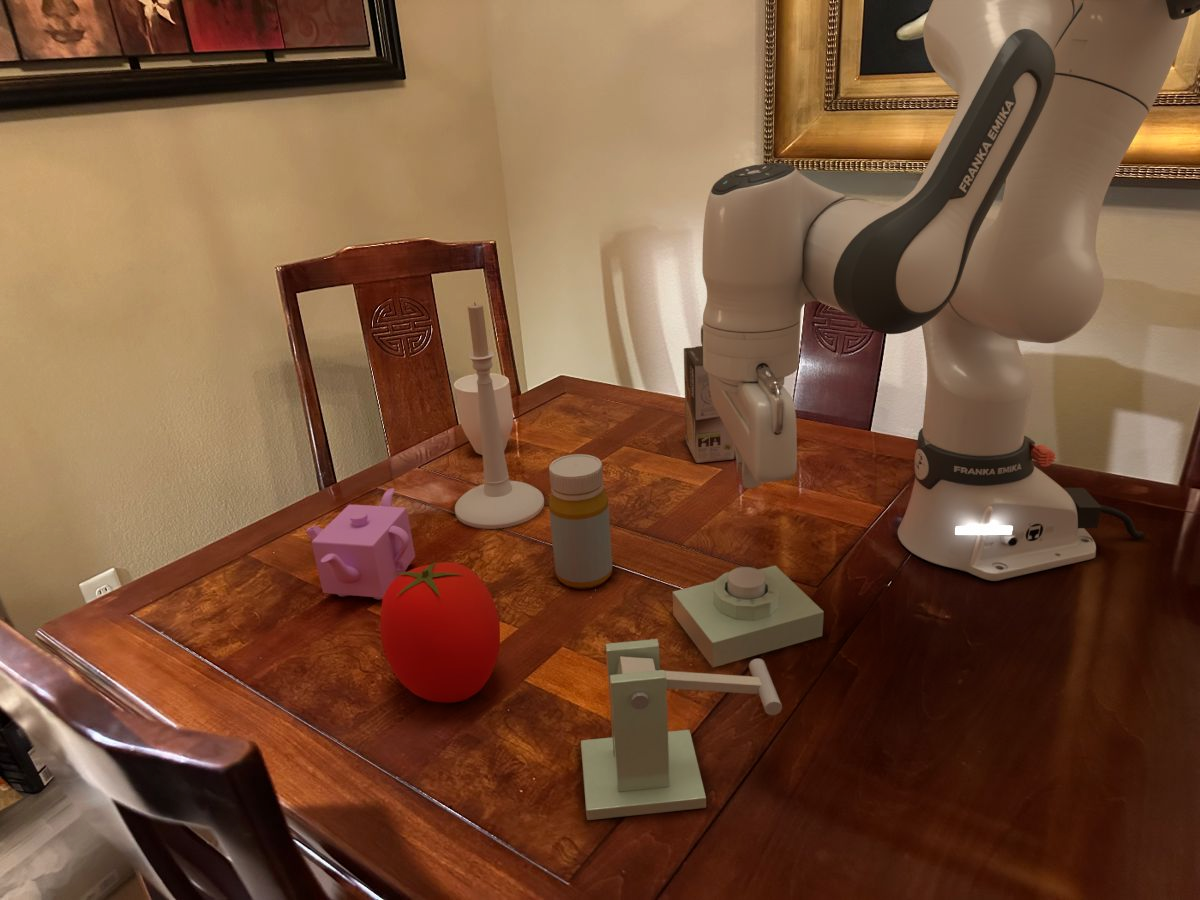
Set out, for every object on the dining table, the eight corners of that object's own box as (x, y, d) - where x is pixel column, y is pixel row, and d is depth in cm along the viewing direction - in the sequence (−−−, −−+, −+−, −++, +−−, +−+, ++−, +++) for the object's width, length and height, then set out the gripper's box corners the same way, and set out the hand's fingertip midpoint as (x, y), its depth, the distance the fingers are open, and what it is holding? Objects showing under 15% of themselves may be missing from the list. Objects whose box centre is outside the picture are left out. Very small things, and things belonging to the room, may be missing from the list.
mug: (509, 461, 135) (501, 391, 130) (456, 460, 136) (446, 391, 131) (525, 432, 145) (518, 366, 141) (476, 432, 147) (467, 366, 142)
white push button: (753, 576, 93) (753, 563, 92) (772, 595, 89) (772, 581, 88) (721, 585, 92) (720, 571, 91) (738, 604, 88) (738, 590, 87)
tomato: (366, 689, 86) (340, 572, 80) (451, 634, 94) (433, 523, 88) (446, 743, 79) (425, 618, 73) (531, 678, 86) (518, 560, 80)
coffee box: (736, 459, 130) (737, 361, 124) (695, 464, 130) (694, 365, 123) (721, 436, 139) (722, 343, 132) (683, 440, 138) (681, 346, 132)
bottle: (606, 593, 99) (599, 479, 93) (549, 589, 101) (538, 477, 95) (617, 561, 106) (610, 453, 99) (563, 558, 107) (553, 451, 101)
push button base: (774, 588, 98) (775, 551, 96) (822, 636, 90) (825, 597, 88) (672, 615, 95) (671, 577, 93) (712, 668, 86) (712, 628, 84)
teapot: (353, 541, 114) (339, 477, 110) (443, 547, 111) (433, 482, 107) (280, 620, 98) (261, 548, 94) (383, 630, 95) (369, 556, 91)
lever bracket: (689, 739, 77) (687, 624, 72) (706, 808, 70) (705, 686, 65) (581, 750, 77) (571, 635, 72) (586, 820, 70) (575, 699, 64)
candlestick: (553, 487, 126) (534, 289, 113) (532, 530, 114) (509, 314, 102) (471, 485, 128) (444, 290, 116) (442, 527, 116) (409, 316, 104)
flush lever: (761, 676, 73) (767, 654, 72) (778, 720, 68) (785, 697, 67) (613, 666, 72) (617, 643, 71) (620, 711, 67) (624, 687, 66)
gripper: (819, 384, 69) (811, 530, 75) (757, 317, 88) (754, 439, 93) (743, 390, 69) (741, 537, 74) (697, 322, 87) (698, 444, 93)
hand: (748, 481), depth 84 cm, fingers closed
